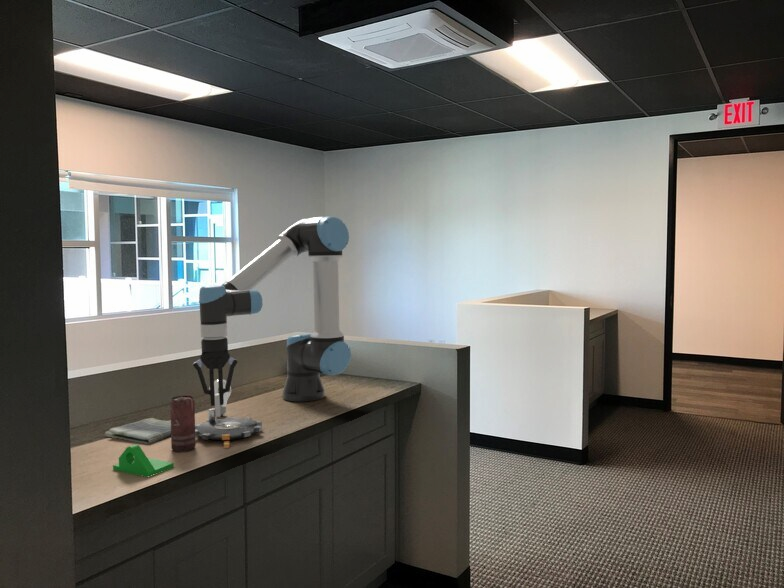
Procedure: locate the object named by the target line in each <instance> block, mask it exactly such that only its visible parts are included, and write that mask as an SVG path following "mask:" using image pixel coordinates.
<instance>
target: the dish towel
mask: <svg viewBox="0 0 784 588" xmlns="http://www.w3.org/2000/svg"><path fill="white" fill-rule="evenodd" d="M110 437H112V438H111V439H116V438H119V439H118V440H122V439H124V441H130V442H134V443H135V442H136V443H142V444H146V445H151V444H154V443H157V442H160V441H162V440H165V439H167V438H170V437H171V420H162V419H157V418H154V417H150V418H143V419H141V420H139V421H135V422H130V423H126V424H123V425H121V426H114V427H112V428H109V430H107V431H105V432H104V438H110Z"/></svg>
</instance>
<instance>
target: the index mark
mask: <svg viewBox="0 0 784 588" xmlns="http://www.w3.org/2000/svg"><path fill="white" fill-rule="evenodd" d="M229 448H230V440H226V441H223V449H229Z"/></svg>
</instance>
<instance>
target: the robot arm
mask: <svg viewBox="0 0 784 588" xmlns="http://www.w3.org/2000/svg"><path fill="white" fill-rule="evenodd" d="M349 239H350V234H349V229H348V227H347V225H346V223H344V222H343V220H342V219H340V218H339V217H336V216H327V215H326V216H316V217H306V218H301V219H299V220H298V221H296V222H295V223H293V224H292V225H290V226H289V227H288V228H286V229H285V230H284V231H282V232H281V233H280V234H279V235H278V236H276V238H275V242H273V243H271V245H270V246H269V247H267V248H266V249H264V250H263V251H262V252H261V253H260V254H259V255H257V256H256V257H255V258H253V260H251V261H250V262H249V263H247V264H246V265H245V266H244V267H242V268H241V269H240V270H239V271H238V272H236V273H235V274H234V275H232V276H231V277H230V278H229V279H228V280H226V281H225V282H224V283H222V284H220V285H204V286H201V287H200V289H199V295H198V303H199V315H200V316H199V318H200V319H199V320H200V337H201V338H202V339H201V341H200V343H201V354H200V357H199V359H198V360H196V361H194V362H193V363H192V365H193V367H194V368H195V370H196V372H197V374H198V377H199V381H200V384H201V388H202V390H203V393H204V394H205V395H209V397H210V406H211V407H214V409H215V418H221V416H220V405H223V404H224V398H223V395H224V393H226V392H229V390H230V386H231V384H232V380H233V375H234V370H235V367H236V365H237V364H238V360H237V359H236V358H233V357H232V356H231V354H230V352H229V346H228V345H229V342H228V338H227V336H228V317H232V316H243V315H254V314H258V313H260V312H261V311H262V309H263V308H262V307H263V297H262V294H261V293H260V291H258V290H257V289H255V288H257V286H259V285H260V284H261V283H262V282H263V281H264V280H266V279H267V278H268V277H270V276H271V274H273V273H274V272H275V271H276V270H278V269H279V268H280V267H281V266H283V265H284V264H285V263H286V262H287V261H289V260H290V259H295V258H297V257H298V256H299V255H301V254H303V253H308V258H309V259H310V260H311V261H312V264H313V265H312V266H313V267H312V268H313V269H312V270H313V271H312V273H313V275H312V276H313V279H312V280H313V312H314V313H313V315H314V316H313V318H314V319H313V320H314V321H313V323H314V330H313V332H312V333H306V334H305V333H304V334H303V333H302V334H296V335H295V334H294V335H290V336H288V337H287V339H286V347H285V348H286V365H287V366H286V370H287V372H286V373H287V375H286V380H285V382H284V383H285V384H284V387H283V391H282V399H283V400H285V401H288V402H299V403H300V402H303V403H304V402H313V401H319V400H321V399H324V398H325V395H326V394H325V393H326V391H325V387H324V384H323V381H322V379H321V376H320V375H321V374H324V375H332V376H337V375H339V374H342V373H343V372H344V371H345V370H346V369H347V367H349V364H350V362H351V357H352V351H351V347H350V346H349V344H347V343H346V342H345V334H344V333H343V332H342V331H341V330H340V300H339V299H340V296H339V294H340V293H339V290H340V288H339V283H340V282H339V261H340V259H342V257H343V250H344V249H346V247H347V245H348V243H349ZM227 363H228V364H229V367H228V371H227V377H226V379H225V380H226V385H225V388H223V379H224V378H223V375H224V373H223V368H224V367H225V366H226V364H227ZM202 364H203V365H205V367H206V368H207V369H208V374H209V379H208V380H209V388H210V389H209V388H208V385H207V382H206V380H205V379H206V378H205V376H204V373H203V369H202V367H203V365H202ZM215 369H216V370H217V378H218V379H217V380H218V384H219V393H217V394H215V392H214V381H215V376H214V375H215V372H214V371H215Z"/></svg>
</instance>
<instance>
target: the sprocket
mask: <svg viewBox="0 0 784 588" xmlns="http://www.w3.org/2000/svg"><path fill="white" fill-rule="evenodd" d="M207 414H208V415H207V417H208V419H207V420H206V422H203V423H195V437H197V436H198V437H201V439H202V440H211V439H222V440H226V441H231V440H230V438H236V437H243V438H246V437H251V436H252V434H253V433H259V432H262V428H263V427H262V426H263V422H262V421H261V420H254V419H253V418H252V417H244V418H243V417H233V416H228V417H225V418H219V419H218V418H217V419H216V417H215V408H209V409H207Z"/></svg>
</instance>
